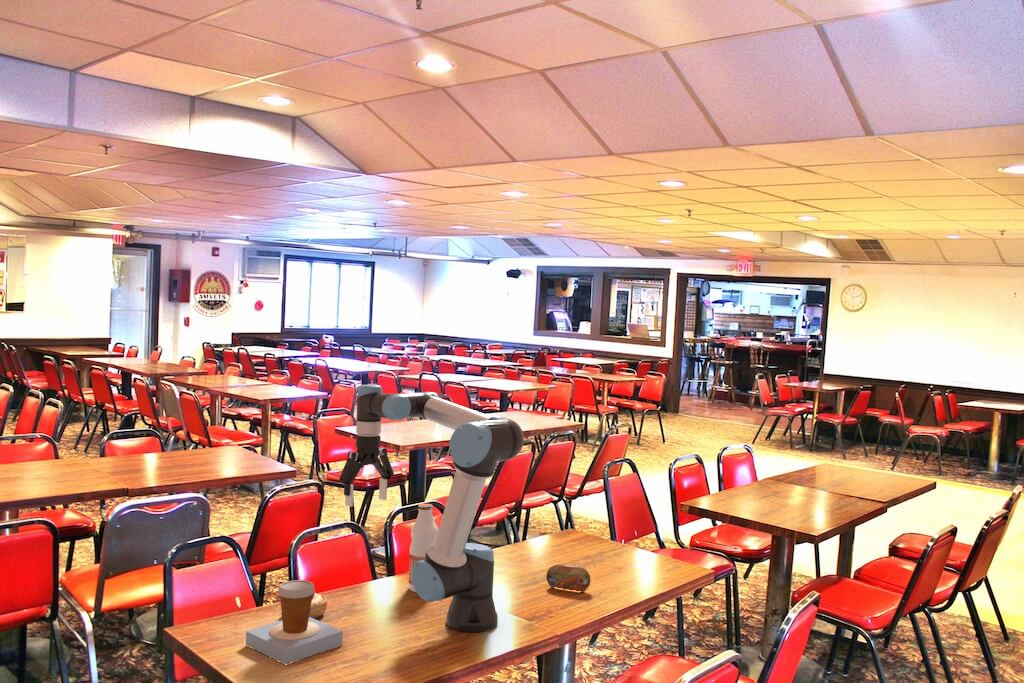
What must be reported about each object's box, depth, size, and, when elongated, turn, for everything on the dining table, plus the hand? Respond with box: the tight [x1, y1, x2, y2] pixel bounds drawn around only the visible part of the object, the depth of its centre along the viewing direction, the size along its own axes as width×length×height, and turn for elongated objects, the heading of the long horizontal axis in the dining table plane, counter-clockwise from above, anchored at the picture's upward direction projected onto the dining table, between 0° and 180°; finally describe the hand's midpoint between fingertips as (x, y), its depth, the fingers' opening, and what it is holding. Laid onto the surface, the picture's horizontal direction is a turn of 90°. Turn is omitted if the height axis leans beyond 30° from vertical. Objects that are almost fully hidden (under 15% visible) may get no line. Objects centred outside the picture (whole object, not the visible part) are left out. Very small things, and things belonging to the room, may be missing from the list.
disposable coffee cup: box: [277, 579, 316, 634], centre depth 216 cm, size 10×10×12 cm
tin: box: [546, 563, 592, 593], centre depth 270 cm, size 15×3×8 cm, turn 68°
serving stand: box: [245, 617, 344, 665], centre depth 216 cm, size 18×18×4 cm
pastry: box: [309, 592, 328, 620], centre depth 240 cm, size 12×12×9 cm
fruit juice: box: [408, 503, 439, 594], centre depth 266 cm, size 9×9×28 cm
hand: (366, 502), depth 250 cm, fingers open, 13 cm apart
